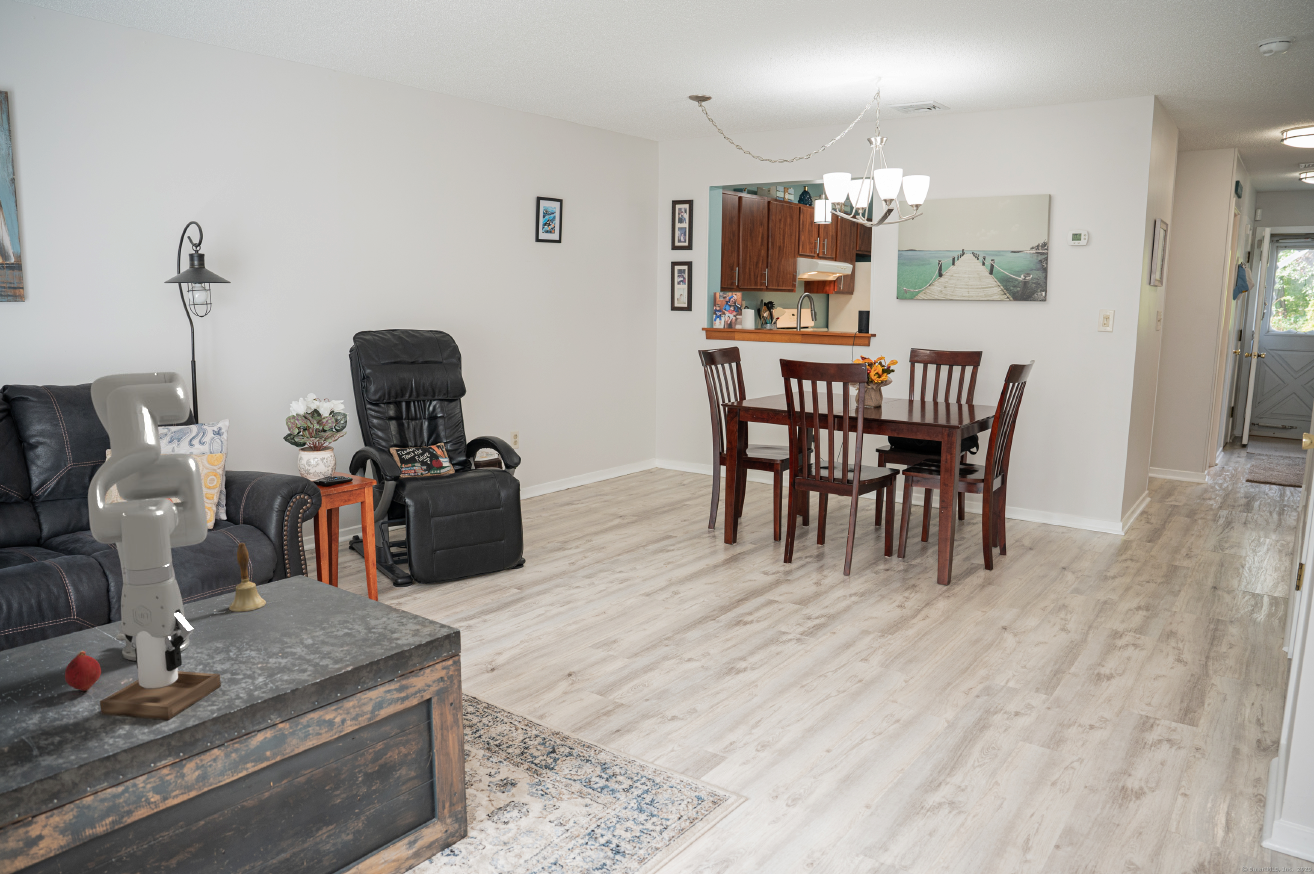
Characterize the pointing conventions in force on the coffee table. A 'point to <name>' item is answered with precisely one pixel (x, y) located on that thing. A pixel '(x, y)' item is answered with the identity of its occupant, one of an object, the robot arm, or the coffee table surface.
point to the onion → (82, 672)
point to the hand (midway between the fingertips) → (159, 666)
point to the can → (153, 662)
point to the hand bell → (245, 586)
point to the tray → (161, 697)
